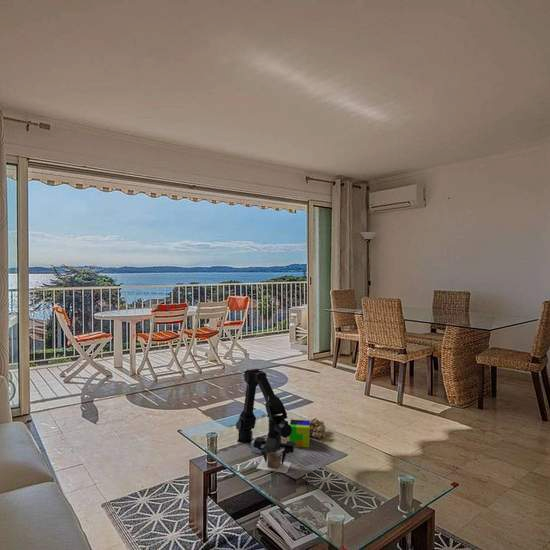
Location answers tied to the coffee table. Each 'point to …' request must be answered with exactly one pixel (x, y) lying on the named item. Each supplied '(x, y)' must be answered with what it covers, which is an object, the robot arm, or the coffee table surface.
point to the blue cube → (254, 450)
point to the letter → (281, 468)
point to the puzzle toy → (300, 432)
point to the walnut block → (274, 460)
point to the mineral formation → (317, 428)
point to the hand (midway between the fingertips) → (274, 463)
